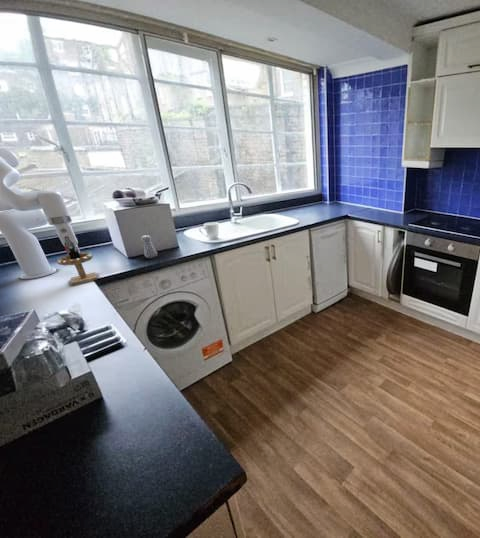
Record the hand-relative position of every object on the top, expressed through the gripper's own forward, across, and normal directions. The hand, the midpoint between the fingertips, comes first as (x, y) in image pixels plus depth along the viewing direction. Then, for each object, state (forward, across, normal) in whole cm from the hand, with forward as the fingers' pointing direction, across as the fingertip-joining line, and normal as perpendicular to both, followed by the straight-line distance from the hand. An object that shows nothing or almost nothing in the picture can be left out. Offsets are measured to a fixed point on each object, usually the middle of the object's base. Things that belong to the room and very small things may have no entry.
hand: (76, 258), depth 137 cm
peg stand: (+9, -5, 0) cm, 11 cm away
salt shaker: (+10, +5, -29) cm, 31 cm away
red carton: (+10, +47, +2) cm, 48 cm away
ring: (-1, -5, 0) cm, 5 cm away
